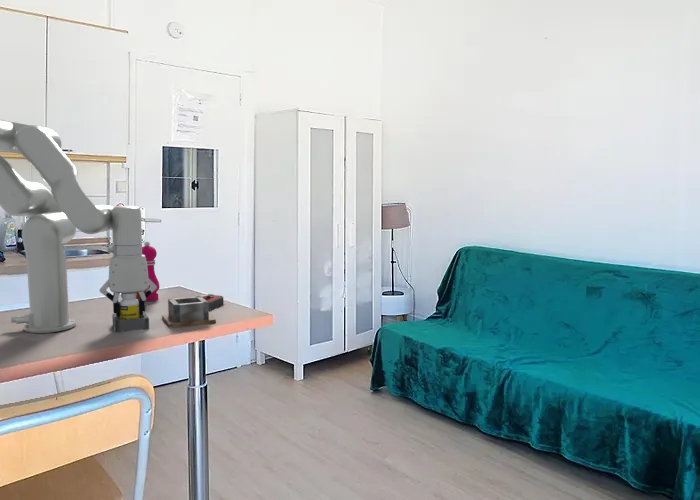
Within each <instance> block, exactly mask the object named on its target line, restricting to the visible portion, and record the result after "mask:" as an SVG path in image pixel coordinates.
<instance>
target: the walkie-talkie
mask: <svg viewBox="0 0 700 500" xmlns="http://www.w3.org/2000/svg"><path fill="white" fill-rule="evenodd" d="M199 296H201V297H202V298H204V299H205V300H206V301H207V302H209V311H210V310H212V309H215V308H218V307H221V306H223V305H224V296H222V295H218V294H216V295H215V294H213V293H208V294H201V295H199Z"/></svg>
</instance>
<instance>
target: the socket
mask: <svg viewBox="0 0 700 500" xmlns="http://www.w3.org/2000/svg"><path fill="white" fill-rule="evenodd" d="M167 305H168V306H167V307H168V313H167V314H162V315H161V319H162V320H163V321H164V322H165V324H166V326H167V327H168V328H170V329H172V328H180V327H181V328H182V327H189V326H190V327H191V326H197V325H198V326H201V325H207V324H208V325H210V324H216V322H217V320H216V318H215V317H214V316H212V315H211V314H210V312H209V311H210V310H209V302H207V301H206V300H205V299H204V298H202V297H201V296H200V295H197V296H187V297H176V298H167Z"/></svg>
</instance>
